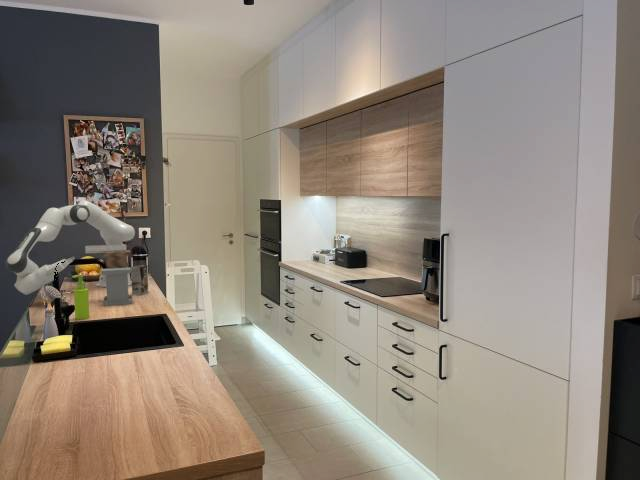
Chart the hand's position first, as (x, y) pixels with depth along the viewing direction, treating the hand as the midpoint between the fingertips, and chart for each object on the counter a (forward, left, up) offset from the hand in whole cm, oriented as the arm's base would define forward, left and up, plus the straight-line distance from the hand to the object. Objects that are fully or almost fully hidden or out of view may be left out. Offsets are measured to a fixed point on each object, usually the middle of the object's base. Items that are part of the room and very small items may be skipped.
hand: (73, 258), depth 262 cm
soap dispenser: (+32, -23, -23) cm, 46 cm away
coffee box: (+14, +32, -23) cm, 42 cm away
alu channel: (+12, +11, +3) cm, 16 cm away
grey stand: (+23, +7, -23) cm, 33 cm away
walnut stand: (+15, +15, -23) cm, 31 cm away
